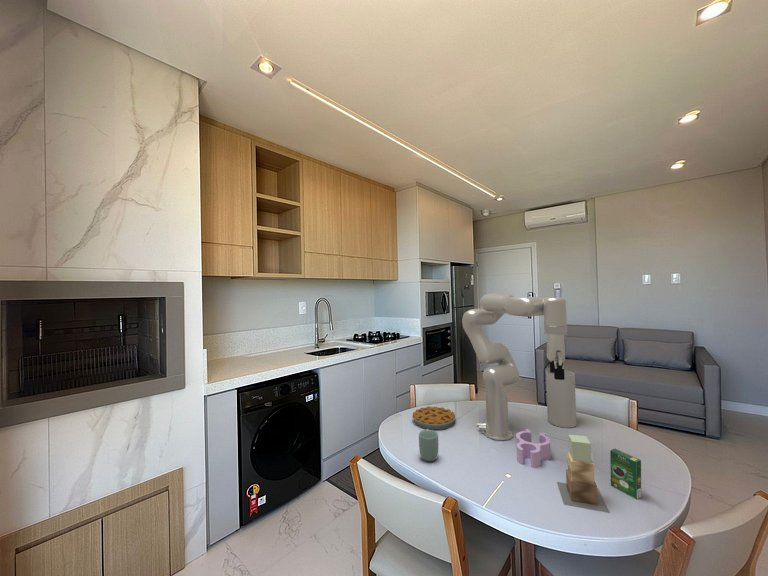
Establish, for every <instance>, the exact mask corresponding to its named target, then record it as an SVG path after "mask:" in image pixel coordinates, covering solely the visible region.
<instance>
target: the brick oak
mask: <svg viewBox="0 0 768 576" xmlns="http://www.w3.org/2000/svg"><path fill="white" fill-rule="evenodd" d="M566 455H567V469H568V472H569V474H570V477H571V479H572V481H577V482H583V483H589V484H595V483H596V481H595V464H594V462H593V460H592V459H591V463H586V462H579V461H573V460H572V458H571V456H570V453H569V451H567V453H566ZM594 481H595V482H594Z"/></svg>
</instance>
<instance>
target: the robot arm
mask: <svg viewBox="0 0 768 576" xmlns="http://www.w3.org/2000/svg"><path fill="white" fill-rule="evenodd" d="M479 306H480V307H481V308H471V309H469V310H467V311H465V312H464V313H463V315H462V319H461V320H462V321H461V323H462V327H463V330H464V332H465V334H466V335H467V337H468V339H469V340H470V341H469V342H470V343H471V345H472V348H473V350H474V352H475V355H476V357H477V359H478V361H479V362H480V363H481V365H491V366H488V367H486V368H485V369H484V371H483V372H482V380H483V385H484V389H485V390H484V392H485V408H486V409H485V412H486V414H485V415H486V420H485V422H483V423H482V422H477V423H476V427H477V428H478V429H479V430H483V434H484V436H485V437H487V438H489V439H491V440H496V441H508V440H511V439H512V438H513V432H512V431H511V430H510V429H509V406H508V405H509V404H508V403H509V402H508V401H509V400H508V395H507V392H506V391H505V388H504V387H506V386H509V385H515V384H516V383H518V382H519V380H520V371H519V369H518V367H517V364H516V362H515V360H514V358H513V356H512V354H511V351H510V350H509V349H508V347H507V346H506V345H504V344H503V343H501V342H495V343H494V342H493V343H492V342H491V340H490V338H489V337H488V334H487V333H486V332H485V331H484V330H483V329H482V328H481V327H482V326H490V325H491V326H492V325H494V324H495V323H497V322H499V321H500V319H502V317H503V315H505V314H507V315H509V316H515V317H516V316H517V317H538V316H539V317H540V316H543V329H544V335H546V358H547V359H548V361H549V370H550V372H551V373H554V378H555V379H556V380H564V379H565V376H564V370H565V364H564V362H565V361H566V360H565V359H566V352H565V351H566V350H565V349H566V348H565V347H566V345H565V336H567V335H568V322H567V320H568V318H567V301H566V299H565V298H564V297H548V296H546V297H545V296H530V297H529V296H528V297H521V296H518V297H517V296H516V297H515V296H514V295H512V294H506V293H488V294H487V293H486V294H483V296H482V297H481V298H480V300H479ZM480 326H481V327H480ZM494 364H497V365H494Z"/></svg>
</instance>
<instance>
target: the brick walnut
mask: <svg viewBox="0 0 768 576" xmlns="http://www.w3.org/2000/svg"><path fill="white" fill-rule="evenodd" d="M565 477H566V478H565V480H566V481H565V483H566V484H567V490H568V493H569V496H570V499H571V501H575V502H580V503H586V504H592V505H597V506H598V500H597V488H598V485H597V482H596V480H594V482H595V484H589V483H583V482H577V481H572V479H571V477H570V474H569V472H568V468H566V470H565Z"/></svg>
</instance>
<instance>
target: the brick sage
mask: <svg viewBox="0 0 768 576" xmlns="http://www.w3.org/2000/svg"><path fill="white" fill-rule="evenodd" d="M591 447H592V446H591V442H590V440H589V439H588V437H587V436H586V435H576V434H568V452H569V453H570V456H571V458H572V460H573V461H579V462H586V463H591V460H592V450H591V449H592V448H591Z"/></svg>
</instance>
